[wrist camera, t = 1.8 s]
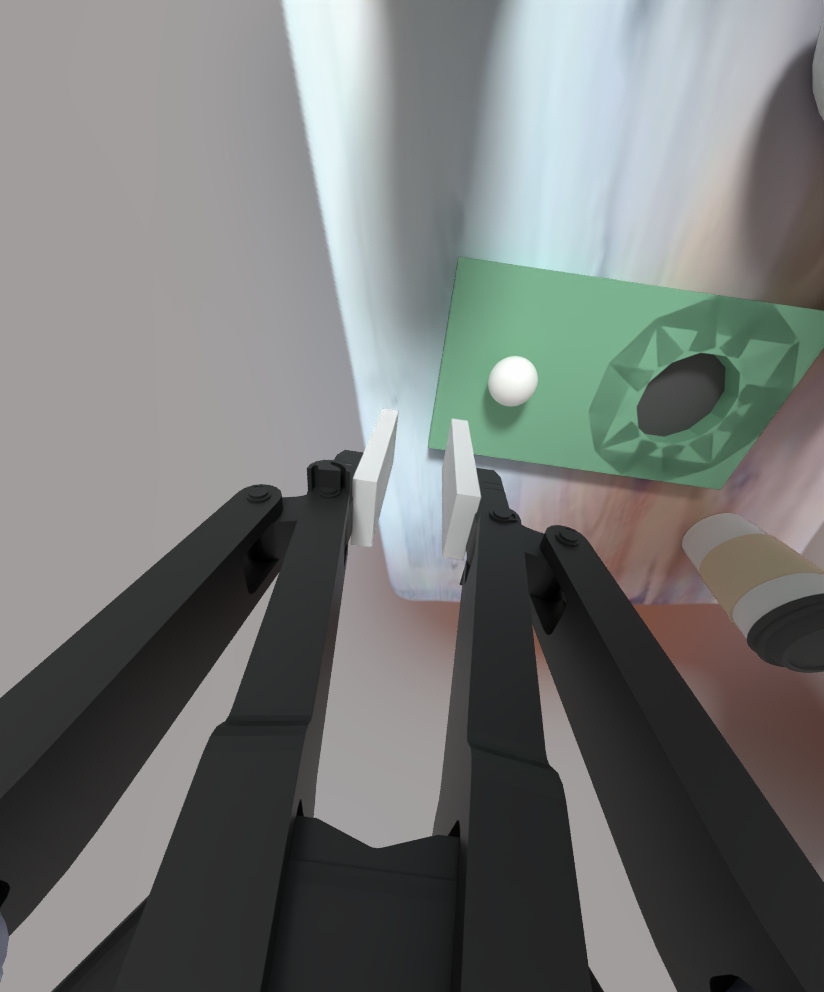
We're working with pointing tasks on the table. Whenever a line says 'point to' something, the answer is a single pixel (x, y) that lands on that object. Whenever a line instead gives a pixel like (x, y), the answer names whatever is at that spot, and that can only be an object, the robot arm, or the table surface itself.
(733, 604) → the coffee cup
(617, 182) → the table surface
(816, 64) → the donut
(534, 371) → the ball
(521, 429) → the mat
